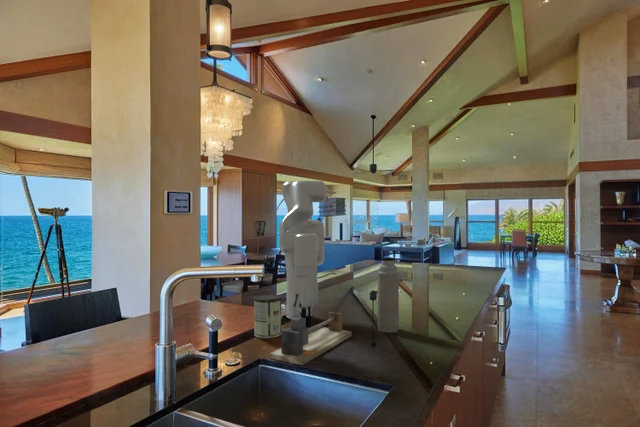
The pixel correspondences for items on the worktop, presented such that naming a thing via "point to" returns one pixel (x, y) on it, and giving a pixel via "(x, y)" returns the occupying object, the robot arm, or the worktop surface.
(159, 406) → the worktop surface
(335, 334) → the rail
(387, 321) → the thermos bottle
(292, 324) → the sleeve
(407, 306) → the worktop surface
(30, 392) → the worktop surface
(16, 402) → the worktop surface
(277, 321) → the coffee can
